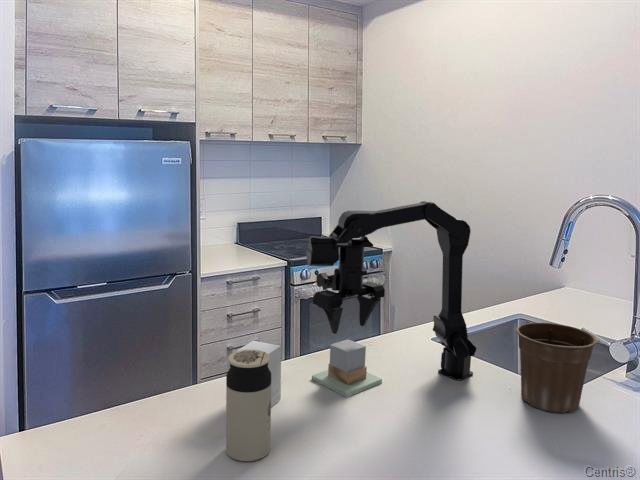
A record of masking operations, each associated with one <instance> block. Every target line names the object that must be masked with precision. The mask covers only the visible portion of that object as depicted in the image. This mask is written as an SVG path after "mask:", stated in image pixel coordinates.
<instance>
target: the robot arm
mask: <svg viewBox="0 0 640 480" xmlns="http://www.w3.org/2000/svg"><path fill="white" fill-rule="evenodd" d="M423 220H425V221H426V222H427V223H428V224H429V225H430V226H431V227H432V228H434V229H435V230H436V237H437V243H438V246H439V248H440V250H441V253H442V282H441V284H442V286H441V288H442V290H441V310H440V312H439V314H438V315H433V318H432V319H433V327H432V331H433V332H434V333H435V334H434V335H435V336H436V338H437V339H438V340H439V341H440V344H441V346H443V349H442V352H441V358H440V369H438V373H439V374H441V375H444V376H446V377H449V378H452V379H454V380H457V381H461V380H463V379H466V378H468V377H470V376H473V375H474V372H473V371H472V370H471V360H472V357H474V356H475V354H476V351H477V347H476V345H474V344H473V343H472V342H471V341H470V340H469V339H468V338H469V335H468V329H467V324H466V321H465V318H464V315H463V313H462V312H463V311H462V307H463V306H462V302H463V300H462V299H463V298H462V297H463V257H464V254H465V252H466V250H467V248H468V246H469V242H470V238H471V227H470V224H468V222H466V220H464V219H460V218H456V217H454V216H453V215H451V214H449V212H446V211H445V210H444V209H442V208H440V206H438V205H437V204H436V203H435V202H432V201H427V200H423V201H421V202H418V203H412V204H405V205H402V206H396V207H391V208H386V209H380V210H347V211H344V212H342V213H341V215H340V216H339V217H338V221H337V225H336V226H335V227H334V228H333V230H332V231H331V233H330V234H329V235H328V236H315V235H310V236H309V239H308V243H307V248H306V263H307V266H308V267H326V266H327V267H330V266H331V267H333V266H334V265H335V264H337V262H338V267H337V268H334V270H333V274H330V275H328V273H327V272H321V273H317V274H316V280H315V281H316V286H317V287H318V288H321V287H322V290H320V291H316V292H314V293H313V295H312V304H313V305H315V306H317V307H318V308H320V309H322V310H323V311H324V313H325V315H326V318H327V320H328V324H329V327H330V329H331V332H332V334H334V335H336V334H337V333H338V331H339V327H340V324H341V323H340V322H341V319H342V315H343V310H344V308H343V307H342V305H343V301H345V300H350V299H353V298H356V299H357V300H358V303H359V311H358V313H359V314H358V315H359V319H358V320H359V325H360V326H361V327H364V326H365V325H366V323H367V322H368V320H369V318H370V316H371V314H372V313H373V311H374V309H375V307H376V306H377V304H378V303H379V302H381V300H382V298H384V297H385V291H386V289H385V288H384V285H382V284H380V283H376V282H372V281H365V282H364V276H367V275H368V270H366V269H364V261H365V248H373V247H374V243H372V242H371V241H370V240H369V238H368V235H371V234H373V233H374V232H377V231H378V230H380V229H382V228H388V227H391V226H392V227H393V226H398V225H403V224H404V225H405V224H409V223H413V222H418V221H419V222H420V221H423ZM329 289H331V290H329ZM335 291H337V292H335Z"/></svg>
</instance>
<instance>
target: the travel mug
mask: <svg viewBox="0 0 640 480" xmlns="http://www.w3.org/2000/svg"><path fill="white" fill-rule="evenodd" d="M236 351H237V350H236ZM236 351H234V352H232V353H230V354H229V355H228V357H227V362H228V363H229V369H228V370H227V373H226V375H225V377H226V380H225V381H226V384H225V386H226V392H225V393H226V394H225V395H226V397H225V398H226V400H225V401H226V402H225V405H226V407H225V409H226V410H225V411H226V412H225V413H226V416H225V417H226V420H225V422H226V425H225V426H226V428H225V431H226V432H225V433H226V435H225V436H226V437H225V438H226V439H225V440H226V441H225V443H226V449H225V451H226V453H227V455H228V456H229V458H230V459H231V458H232V459H234V460H237V461H240V462H252V461H258V460H260V459H262V458H264V457H266V456H267V455H268V454H269V453H270V450H271V435H272V434H271V432H272V431H271V430H272V429H271V427H272V425H271V423H272V422H271V421H272V418H271V417H272V407H271V372H270V370H269V368H268V362H269V361H270V356H269V354H267V353H266V352H263V351H260V350H240V351H237V352H236Z"/></svg>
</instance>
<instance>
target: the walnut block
mask: <svg viewBox="0 0 640 480" xmlns="http://www.w3.org/2000/svg"><path fill="white" fill-rule="evenodd" d="M327 367H328V368H327V370H328V376H330V377H332V378H334V379H336V380H338V381H340V382H342V383H345V384H347V385H351V384H353V383H356V382H359V381H361V380H364V379H366V372H367V370H368V369H367V366H366V365H365V366H364V367H361V368H358V369H356V370H353V371H350V372H345V371H343V370H341V369H339V368H336V367H334V366H332V365H330V362H329V363H328V366H327Z"/></svg>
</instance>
